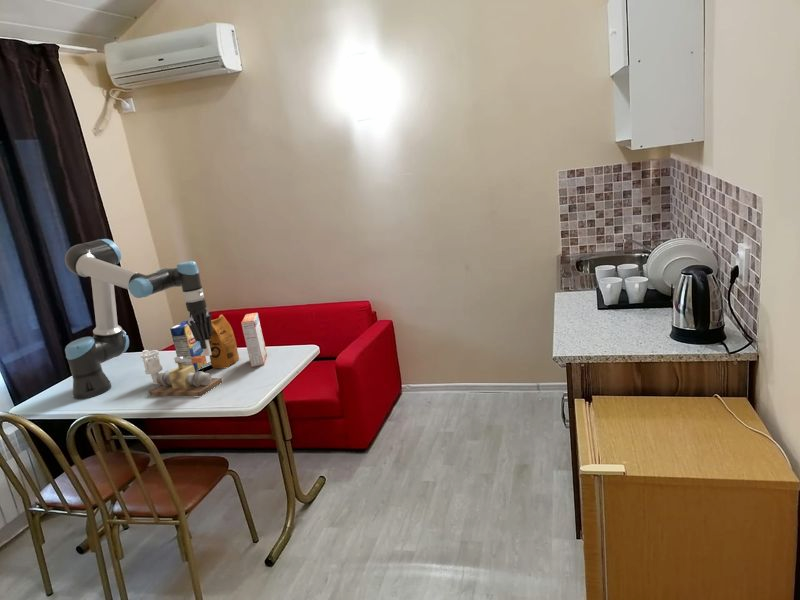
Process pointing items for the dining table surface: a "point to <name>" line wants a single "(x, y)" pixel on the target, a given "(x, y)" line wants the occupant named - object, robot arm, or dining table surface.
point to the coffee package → (222, 344)
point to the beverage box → (186, 344)
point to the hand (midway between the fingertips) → (208, 355)
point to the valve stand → (184, 382)
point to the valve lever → (190, 359)
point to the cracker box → (254, 339)
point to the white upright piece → (152, 364)
